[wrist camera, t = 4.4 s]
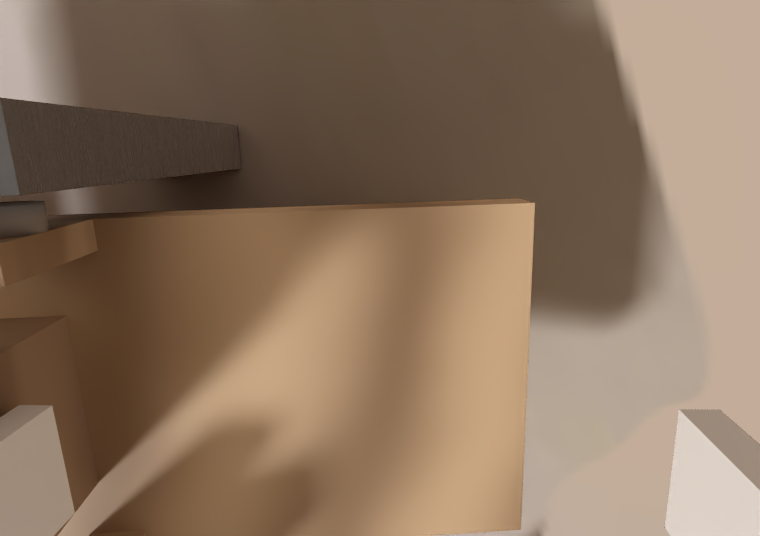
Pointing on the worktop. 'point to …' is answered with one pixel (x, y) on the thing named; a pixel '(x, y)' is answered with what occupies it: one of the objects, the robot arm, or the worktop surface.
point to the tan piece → (290, 363)
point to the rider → (49, 390)
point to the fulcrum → (103, 147)
